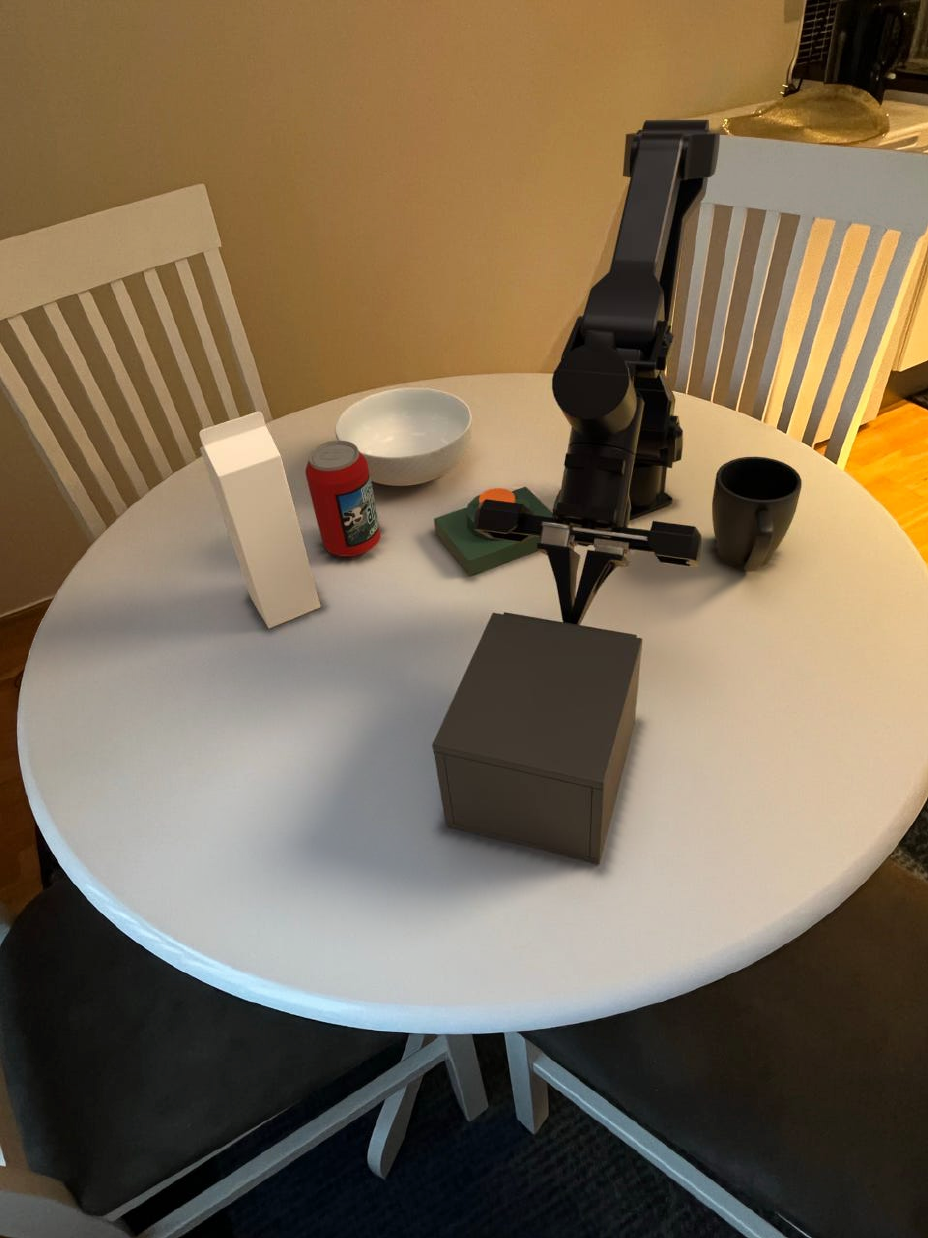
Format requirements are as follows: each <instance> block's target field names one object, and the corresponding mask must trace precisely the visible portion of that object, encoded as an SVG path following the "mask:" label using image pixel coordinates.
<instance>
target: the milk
mask: <svg viewBox="0 0 928 1238" xmlns="http://www.w3.org/2000/svg"><path fill="white" fill-rule="evenodd" d="M198 434H199V438H200V442H201V444H202V445H201V447H199V450H200V453H201V457H202V459H203V462H204V465H205V468H206V471H207V474H208V477H209V479H210V483H211V485H212V489H213V492H214V494H215V498H216V500H217V504H218V506H219V509H220V511H221V515H222V519H223V521H224V523H225V527H226V530H227V533H228V535H229V538H230V541H231V544H232V547H233V550H234V553H235V556H236V559H237V562H238V565H239V568H240V569H241V574H242V576H243V580H244V582H245V585H246V587H247V588H246V589H247V591H248V594H249V597H250V599H251V601H252V603H253V604H254V606H255V607H256V610H257V611H258V613H259V614H260V616H261V619H262V620H263V621H264V623H265V624H266V627H267V628H268V629H271V628H272V629H273V628H274V627H276V626H278V625H281V624H284V623H286V622H288V621H291V620H293V619H296V618H298V617H301V616H303V615H305V614H308V613H310V612H313V611H315V610H318V609H320V608H321V607H322V606H321V602H320V598H319V595H318V592H317V587H316V583H315V580H314V577H313V571H312V568H311V564H310V561H309V558H308V557H309V556H308V553H307V550H306V546H305V542H304V539H303V536H302V535H303V534H302V532H301V527H300V524H299V520H298V516H297V512H296V509H295V505H294V500H293V497H292V494H291V489H290V486H289V483H288V479H287V475H286V471H285V468H284V463H283V460H282V459H283V458H282V456H281V454H280V451H279V449H278V447H277V446H276V443H275V441H274V439H273V438H272V436H271V433H270V431H269V429H268V428H267V426H266V421H265V418H264V415H263V413H262V412H261V411H255V412H252V413H249V414H246V415H242V416H239V417H237V418H234V419H230V420H228V421H224V422H222V423H218V424H215V425H212V426H209V427H206V428H202V429H201V430H200V431H199V432H198Z"/></svg>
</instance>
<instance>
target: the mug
mask: <svg viewBox="0 0 928 1238" xmlns="http://www.w3.org/2000/svg"><path fill="white" fill-rule="evenodd" d="M802 484H803V482H802V478H801V476H800V473H799V472H798V471H797V470H796V469H795V468H794V467H792V466H791V465H789V464H787V463H785V462H784V461H780V460H777V459H774V458H770V457H764V456H744V457H743V456H742V457H737V458H734V459H731V460H729V461H727V462H725V463H724V464H722V465H721V466H720V467H719V468H718V470H717V472H716V474H715V481H714V486H713V487H714V488H713V493H712V502H711V514H712V526H713V533H714V538H715V543H716V546H717V547H716V548H717V554H718V556H719V558H720V559H721V560H722V561H723V562H724V563H726V564H727V565H730V566H732V567H734V568H738V569H743V570H744V571H745V572H749V573H753V572H756V571H758V570H759V569H760V568H761V567H764V566H765V565H767V564H768V563H769V562H770V561H771V560H772V557H773V556H774V554H775V553H776V551H777V549H778V548H779V546H780V545H781V543H782V542H783V540H784V538H785V536H786V534H787V533H788V531H789V528H790V526H791V524H792V522H793V519H794V517H795V514H796V512H797V509H798V508H797V507H798V503H799V500H800V495H801V490H802Z"/></svg>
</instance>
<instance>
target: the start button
mask: <svg viewBox="0 0 928 1238" xmlns="http://www.w3.org/2000/svg"><path fill="white" fill-rule="evenodd" d="M511 491H512V490H509V489H507V488H502V487H496V488H489V489H487V490H485V491H483V492H481V494H479V495H480V497H479V505H480V504H481V503H482V502H483V501H484V500H485V499H489V500H496V501H504V502H512V503H515V495H514V494H513V493H512V492H511Z"/></svg>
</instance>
